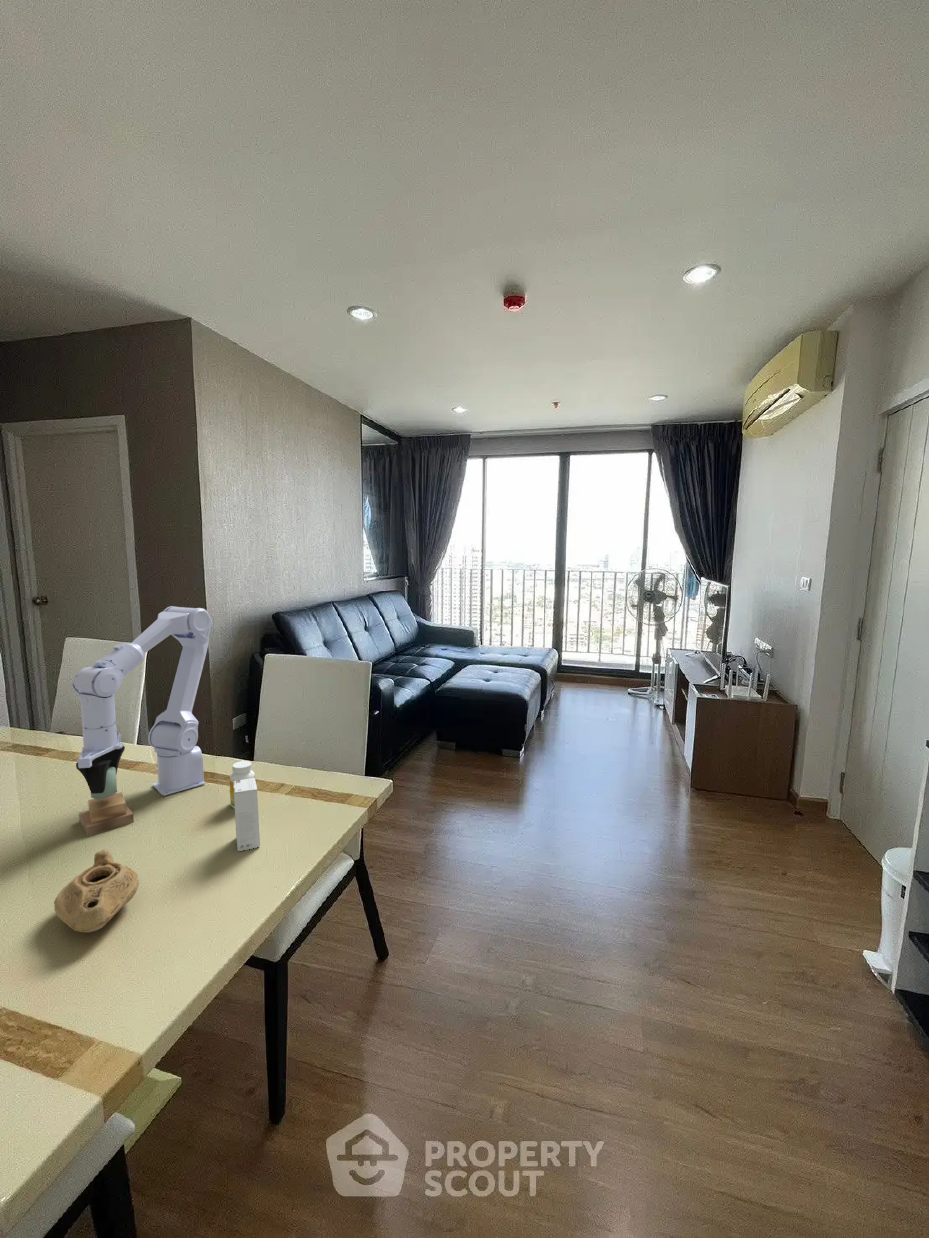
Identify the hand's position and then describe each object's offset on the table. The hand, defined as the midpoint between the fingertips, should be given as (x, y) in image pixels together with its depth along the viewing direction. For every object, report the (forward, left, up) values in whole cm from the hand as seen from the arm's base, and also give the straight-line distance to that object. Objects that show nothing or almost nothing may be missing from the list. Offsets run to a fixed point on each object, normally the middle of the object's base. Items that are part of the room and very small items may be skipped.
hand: (103, 787), depth 107 cm
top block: (0, 0, -6) cm, 6 cm away
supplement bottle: (-24, +12, -8) cm, 28 cm away
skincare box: (-18, +28, -8) cm, 34 cm away
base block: (0, 0, -8) cm, 8 cm away
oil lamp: (+7, +33, -8) cm, 34 cm away
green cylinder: (0, 0, -1) cm, 1 cm away
